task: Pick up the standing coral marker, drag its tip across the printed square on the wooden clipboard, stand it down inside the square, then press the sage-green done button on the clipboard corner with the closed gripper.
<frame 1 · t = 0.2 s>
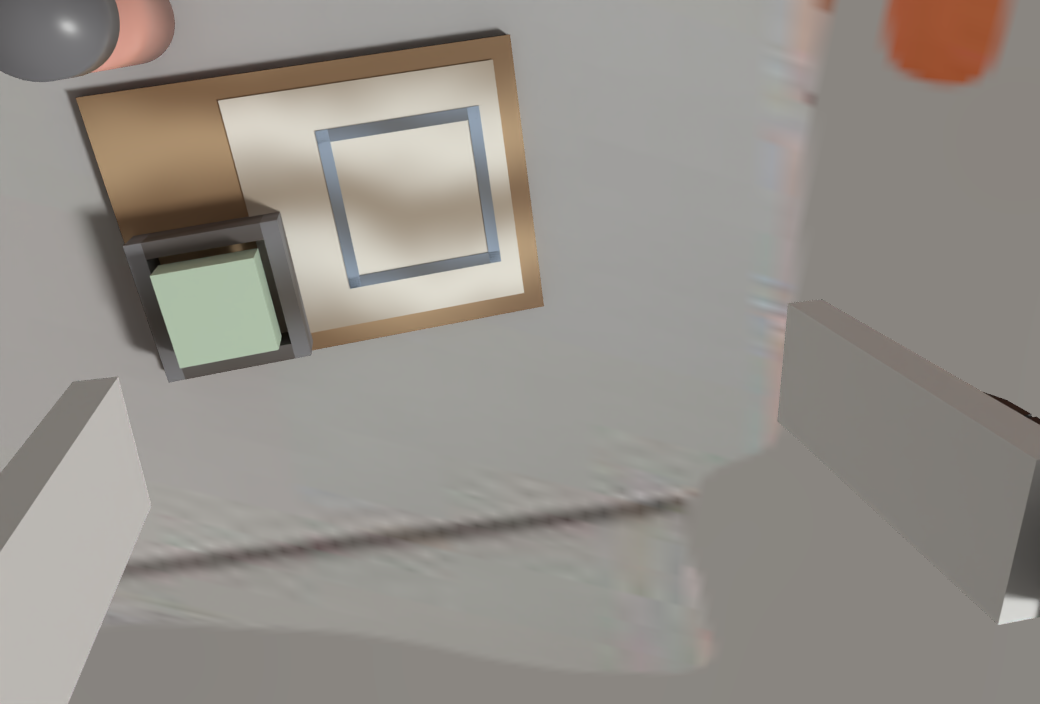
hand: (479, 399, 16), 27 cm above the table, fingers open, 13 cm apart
done button: (219, 307, 38), point 3 cm above the table, slide at 0.0 cm
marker: (126, 16, 36), on the table
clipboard: (333, 210, 40), on the table
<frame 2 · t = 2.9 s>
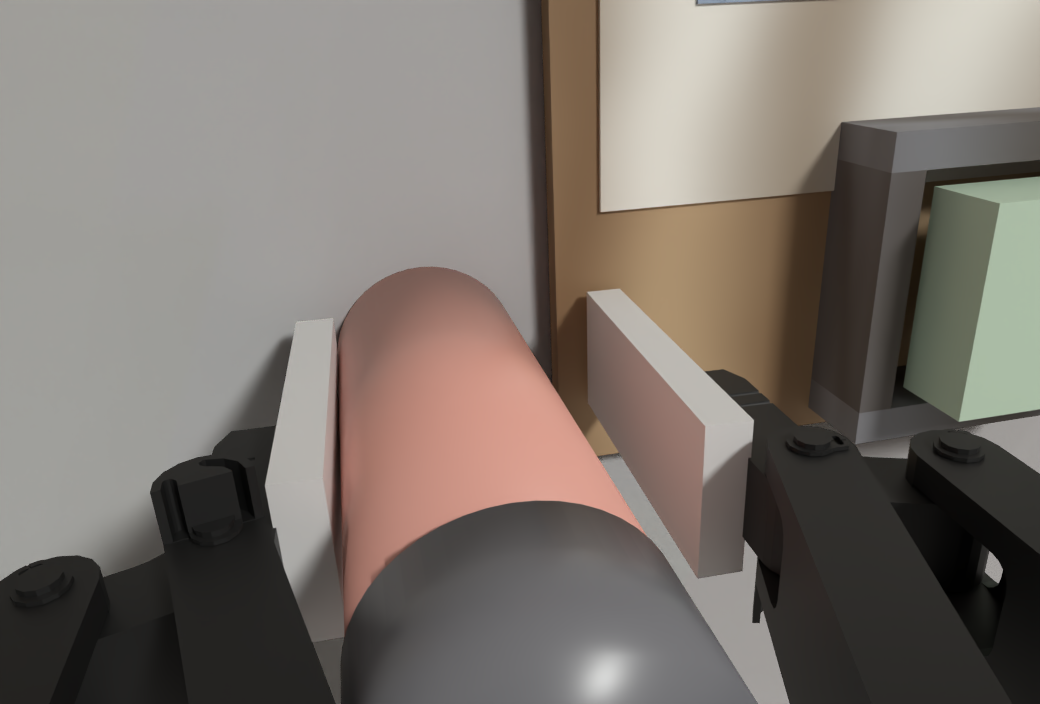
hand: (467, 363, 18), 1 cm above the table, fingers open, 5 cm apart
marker: (427, 352, 18), on the table, touching gripper
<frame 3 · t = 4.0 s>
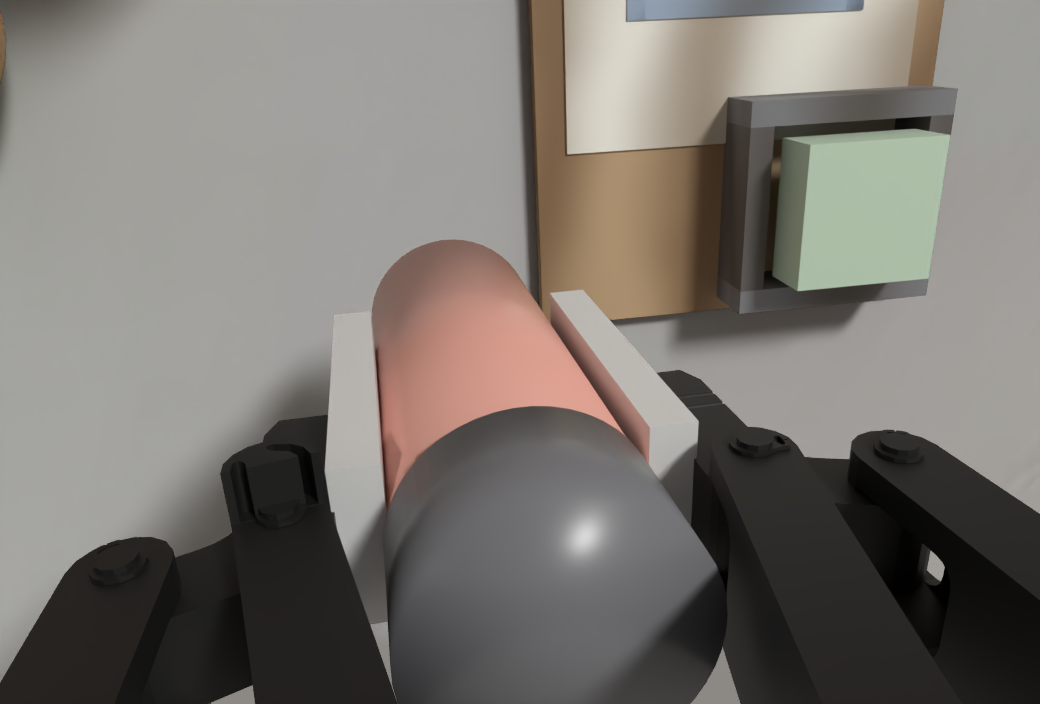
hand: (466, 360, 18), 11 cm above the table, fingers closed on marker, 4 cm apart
done button: (856, 209, 26), point 3 cm above the table, slide at 0.0 cm
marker: (451, 316, 20), point 8 cm above the table, touching gripper
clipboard: (737, 15, 26), on the table
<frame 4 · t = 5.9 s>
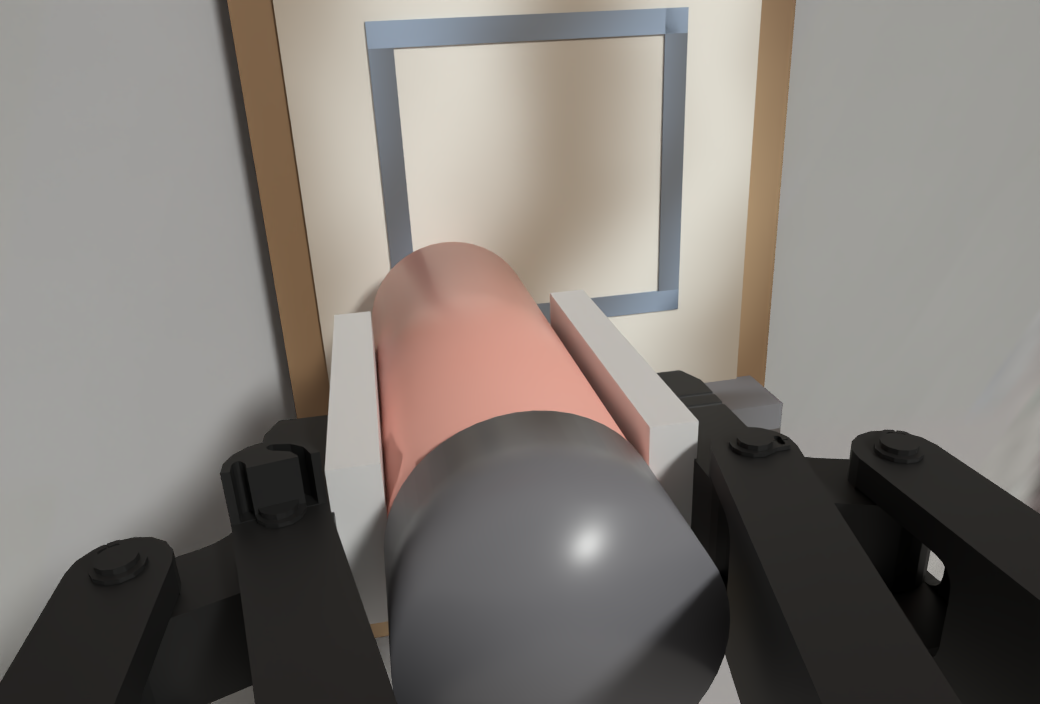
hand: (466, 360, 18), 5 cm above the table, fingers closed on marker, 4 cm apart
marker: (451, 318, 20), point 2 cm above the table, touching gripper
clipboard: (536, 315, 23), on the table
when the fingers open (2 cm above the table, at t = 8.3 s): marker stays where it is, resting on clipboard.
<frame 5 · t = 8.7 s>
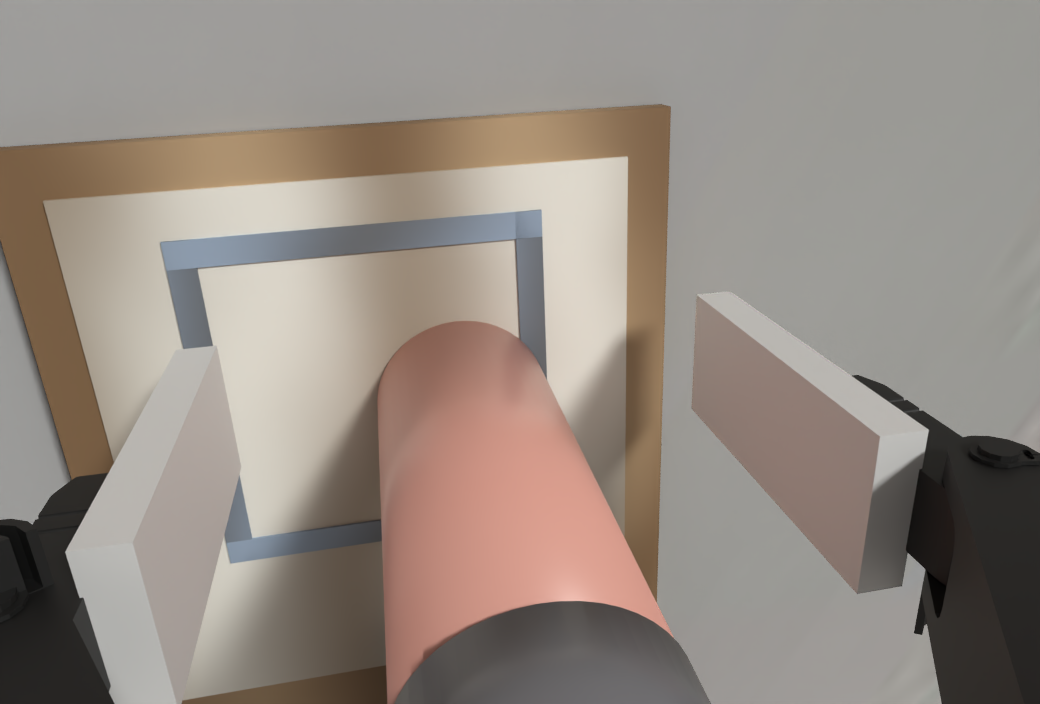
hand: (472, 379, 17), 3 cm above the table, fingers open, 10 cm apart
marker: (462, 399, 19), point 1 cm above the table, touching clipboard
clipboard: (394, 522, 21), on the table
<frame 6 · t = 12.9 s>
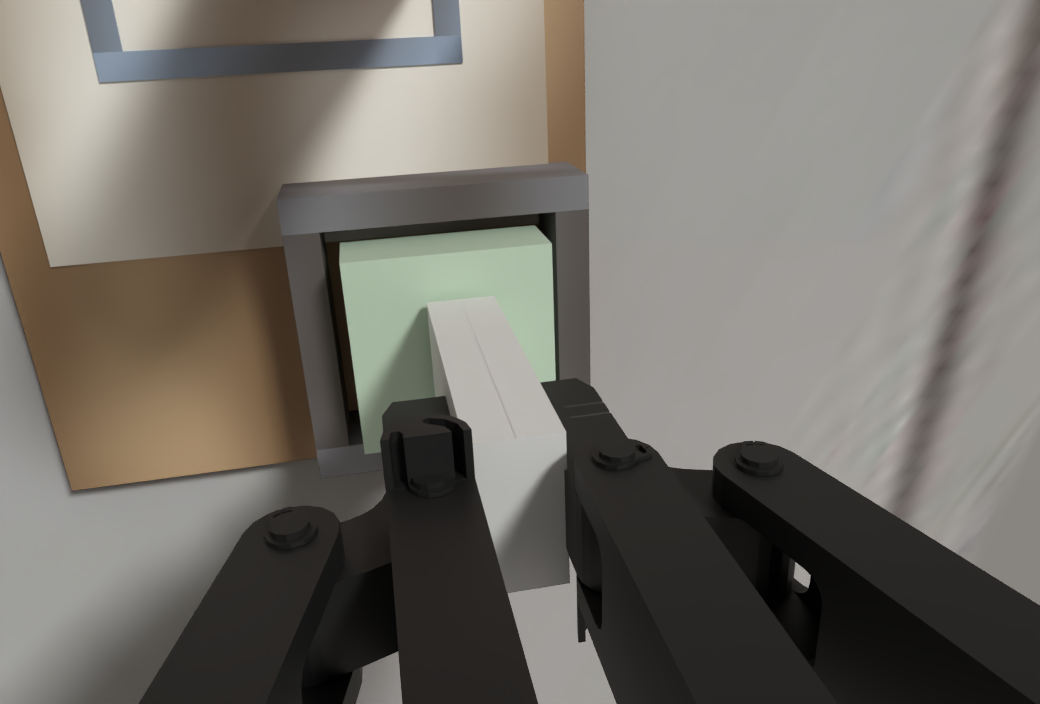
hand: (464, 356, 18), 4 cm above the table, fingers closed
done button: (451, 337, 19), point 3 cm above the table, slide at 0.4 cm, touching gripper
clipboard: (290, 70, 19), on the table
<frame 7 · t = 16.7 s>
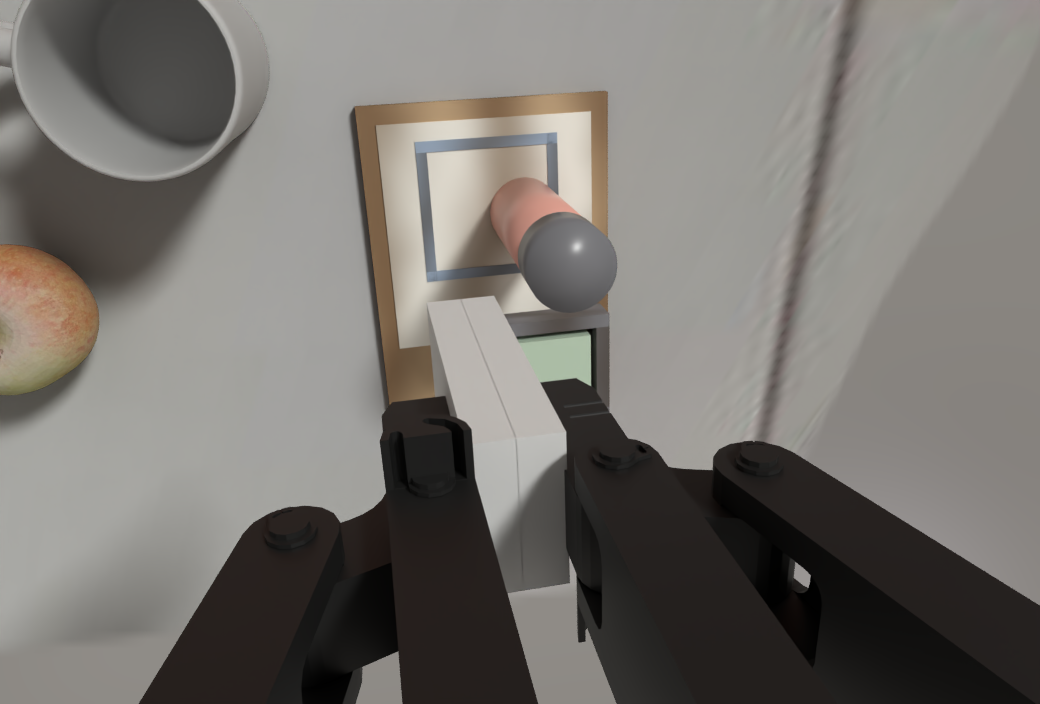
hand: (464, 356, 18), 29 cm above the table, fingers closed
done button: (550, 369, 49), point 2 cm above the table, slide at 1.5 cm
fruit: (42, 296, 44), on the table
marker: (524, 212, 46), point 1 cm above the table, touching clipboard
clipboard: (492, 271, 48), on the table
mug: (148, 56, 41), on the table
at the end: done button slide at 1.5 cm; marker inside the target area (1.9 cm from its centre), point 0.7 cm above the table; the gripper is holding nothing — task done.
